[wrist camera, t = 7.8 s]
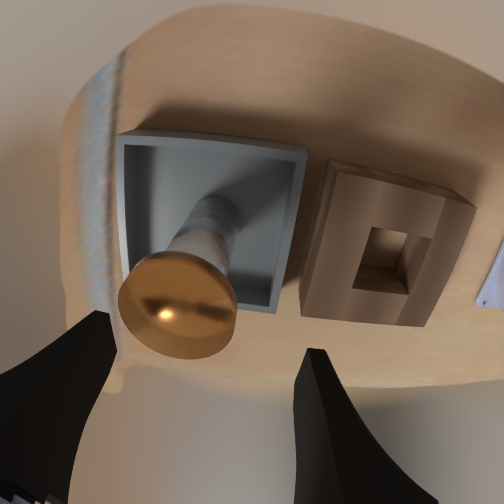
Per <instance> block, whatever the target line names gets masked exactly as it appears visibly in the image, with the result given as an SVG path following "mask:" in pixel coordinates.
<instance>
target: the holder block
mask: <svg viewBox="0 0 504 504" xmlns="http://www.w3.org/2000/svg"><path fill="white" fill-rule="evenodd" d="M476 209H477V207H476V206H474V205H473V204H471V203H470V202H469V201H467V200H466V199H465V198H463V197H462V196H460V195H459V194H458V193H456V192H455V191H453V190H450V189H447V188H443V187H440V186H437V185H433V184H430V183H426V182H423V181H419V180H415V179H412V178H408V177H404V176H400V175H396V174H393V173H389V172H384V171H380V170H376V169H372V168H368V167H363V166H359V165H354V164H349V163H345V162H340V161H335V160H330V159H328V160H327V165H326V170H325V175H324V180H323V185H322V189H321V194H320V199H319V203H318V208H317V212H316V217H315V221H314V226H313V230H312V234H311V239H310V243H309V247H308V251H307V256H306V260H305V264H304V268H303V272H302V276H301V280H300V284H299V288H298V289H299V299H300V310H301V316H304V317H312V318H321V319H331V320H341V321H351V322H362V323H373V324H385V325H399V326H413V327H424V326H425V324H426V322H427V321H428V319H429V317H430V315H431V313H432V311H433V309H434V307H435V305H436V303H437V301H438V299H439V297H440V295H441V293H442V291H443V289H444V287H445V285H446V283H447V281H448V279H449V277H450V274H451V272H452V270H453V268H454V265H455V263H456V261H457V258H458V256H459V254H460V251H461V249H462V246H463V244H464V241H465V239H466V236H467V234H468V231H469V228H470V226H471V223H472V220H473V217H474V215H475V212H476ZM371 227H377V228H382V229H388V230H393V231H398V232H403V233H408V235H407V238H406V241H405V244H404V246H403V249H402V252H401V255H400V257H399V260H398V263H397V265H396V268H395V270H393V269H386V268H379V267H372V266H366V265H360V262H361V259H362V256H363V253H364V249H365V246H366V243H367V240H368V237H369V234H370V230H371Z"/></svg>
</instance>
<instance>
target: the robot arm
mask: <svg viewBox="0 0 504 504" xmlns="http://www.w3.org/2000/svg"><path fill="white" fill-rule="evenodd" d="M475 303H476V305H477V306H479V307H490V308H502V309H503V311H504V240H503V242H502V245H501V247H500V249H499V252H498V254H497V256H496V259H495V261H494V263H493V265H492V268H491V270H490V272H489V274H488V276H487V278H486V280H485V282H484V284H483V286H482V288H481V290H480V292H479V294H478V296H477V298H476V300H475ZM116 353H117V348H116V344H115V339H114V335H113V330H112V326H111V321H110V316H109V313H105V312H101V311H97V310H95V311H93V312H92V313H90V314H89V315H88V316H86V317H85V318H84V319H83V320H81V321H80V322H79V323H77V324H76V325H75V326H73V327H72V328H71V329H70V330H68V331H67V332H66V333H65V334H63V335H62V336H60V337H59V338H58V339H56V340H55V341H54V342H52V343H51V344H50V345H48V346H47V347H45V348H44V349H42V350H41V351H39V352H38V353H37V354H35V355H34V356H32V357H31V358H29V359H28V360H26V361H24V362H23V363H21V364H19V365H17V366H16V367H14V368H12V369H10V370H8V371H6V372H4V373H2V374H0V504H34V503H35V501H37V502H38V503H40V504H44V503H45V501H46V502H48V503H50V504H68V495H69V487H70V480H71V475H72V470H73V465H74V461H75V456H76V453H77V449H78V445H79V442H80V439H81V435H82V432H83V429H84V426H85V423H86V421H87V419H88V416H89V414H90V412H91V410H92V408H93V406H94V404H95V402H96V400H97V398H98V396H99V394H100V392H101V390H102V388H103V386H104V384H105V381H106V379H107V377H108V375H109V373H110V370H111V368H112V365H113V362H114V359H115V356H116ZM293 412H294V428H295V443H296V468H297V469H296V484H295V496H294V504H439V503H438V500H436V499H435V498H434V497H433V496H431V495H430V494H428V493H427V492H426V491H425V490H423V489H422V488H421V487H420V486H418V485H417V484H416V483H415V482H414V481H413V480H412V479H411V478H410V477H409V476H407V475H406V474H405V473H404V472H403V471H402V469H401V468H400V467H399V466H398V465H397V464H396V463H395V462H394V461H393V460H392V459H391V458H390V457H389V455H388V454H387V453H386V452H385V451H384V449H383V448H382V447H381V446H380V444H379V443H378V442H377V441H376V439H375V438H374V437H373V435H372V434H371V432H370V431H369V430H368V428H367V427H366V425H365V424H364V422H363V421H362V419H361V417H360V416H359V414H358V413H357V411H356V409H355V408H354V406H353V404H352V403H351V401H350V399H349V397H348V395H347V393H346V391H345V390H344V388H343V386H342V384H341V382H340V380H339V378H338V376H337V374H336V372H335V370H334V368H333V366H332V363H331V361H330V359H329V357H328V355H327V352H326V351H325V350H324V349H314V348H307V351H306V354H305V356H304V359H303V362H302V364H301V367H300V370H299V372H298V375H297V377H296V380H295V383H294V401H293Z"/></svg>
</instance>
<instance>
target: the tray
mask: <svg viewBox="0 0 504 504" xmlns="http://www.w3.org/2000/svg"><path fill="white" fill-rule="evenodd" d="M307 159H308V153H307V151H306V149H305V147H304V146H301V145H295V144H289V143H283V142H276V141H269V140H262V139H255V138H247V137H239V136H231V135H221V134H211V133H201V132H188V131H174V130H156V129H133V130H130V131H127V132H124V133H121V134H118V135H116V189H117V212H118V228H119V241H120V252H121V262H122V272H123V280H124V281H125V279H126V278H127V277H128V275H129V274H130V272H131V271H132V269H133V268H134V267H135V265H136V264H137V263H138V262H139V261H140V260H142V259H143V258H145V257H146V256H148V255H151V254H154V253H157V252H162V251H165V250H166V249H167V247H168V246H169V244H170V242H171V241H172V239H173V238H174V236H175V234H176V233H177V231H178V230H179V228H180V227H181V225H182V224H183V222H184V220H185V219H186V217H187V216H188V214H189V213H190V211H191V210H192V208H193V207H194V205H195V204H196V203H197V202H198V201H199V200H200V199H202V198H204V197H206V196H210V195H218V196H222V197H225V198H227V199H229V200H230V201H231V202H232V203H233V204H234V205H235V206H236V207H237V209H238V211H239V214H240V225H239V229H238V233H237V237H236V241H235V245H234V249H233V253H232V257H231V261H230V265H229V269H228V274H227V279H228V280H229V282H230V283H231V285H232V287H233V289H234V291H235V294H236V298H237V304H238V306H237V309H242V310H249V311H256V312H263V313H271V314H276V310H277V306H278V301H279V297H280V292H281V288H282V283H283V279H284V274H285V269H286V265H287V260H288V255H289V250H290V246H291V241H292V236H293V231H294V226H295V221H296V216H297V211H298V206H299V201H300V196H301V191H302V186H303V180H304V175H305V170H306V164H307Z"/></svg>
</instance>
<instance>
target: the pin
mask: <svg viewBox="0 0 504 504" xmlns="http://www.w3.org/2000/svg"><path fill="white" fill-rule="evenodd" d="M239 225H240V214H239V211H238V209H237V207H236V206H235V205H234V204H233V203H232V202H231V201H230V200H229V199H227V198H225V197H222V196H218V195H210V196H206V197H204V198H202V199H200V200H199V201H198V202H197V203H196V204H195V205H194V207H193V208H192V210H191V211H190V213H189V214H188V216H187V217H186V219H185V220H184V222H183V224H182V225H181V227H180V228H179V230H178V231H177V233H176V234H175V236H174V238H173V239H172V241H171V242H170V244H169V246H168V247H167V249H166V250H165V251H162V252H157V253H154V254H151V255H148V256H146V257H145V258H143V259H142V260H140V261H139V262H138V263H137V264H136V265H135V267H134V268H133V269H132V271H131V272H130V274H129V275H128V277H127V278H126V279H125V281H124V282H123V284H122V286H121V288H120V290H119V294H118V308H119V312H120V315H121V318H122V320H123V322H124V324H125V325H126V327H127V328H128V330H129V331H130V332H131V333H132V334H133V335H134V336H135V337H136V338H137V339H138V340H139V341H140V342H142V343H143V344H144V345H146V346H147V347H149V348H151V349H152V350H154V351H156V352H158V353H161V354H163V355H166V356H169V357H174V358H179V359H201V358H205V357H209V356H212V355H214V354H216V353H218V352H219V351H221V350H222V349H223V348H224V347H225V346H226V345H227V344H228V343H229V341H230V340H231V338H232V336H233V332H234V328H235V322H236V315H237V306H238V304H237V298H236V294H235V291H234V289H233V287H232V285H231V283H230V282H229V280H228V279H227V274H228V269H229V265H230V261H231V257H232V253H233V249H234V245H235V241H236V237H237V233H238V229H239Z"/></svg>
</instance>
